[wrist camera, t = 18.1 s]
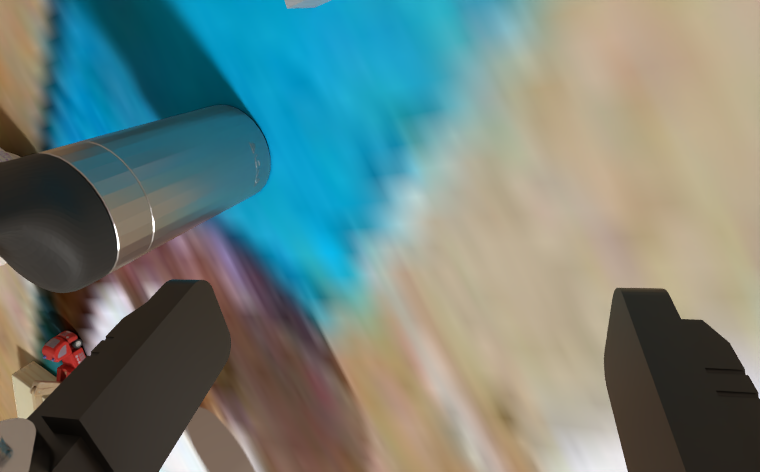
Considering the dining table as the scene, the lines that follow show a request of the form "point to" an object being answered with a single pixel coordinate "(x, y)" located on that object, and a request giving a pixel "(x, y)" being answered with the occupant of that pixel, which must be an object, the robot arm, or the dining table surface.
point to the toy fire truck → (56, 350)
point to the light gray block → (304, 3)
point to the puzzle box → (28, 387)
